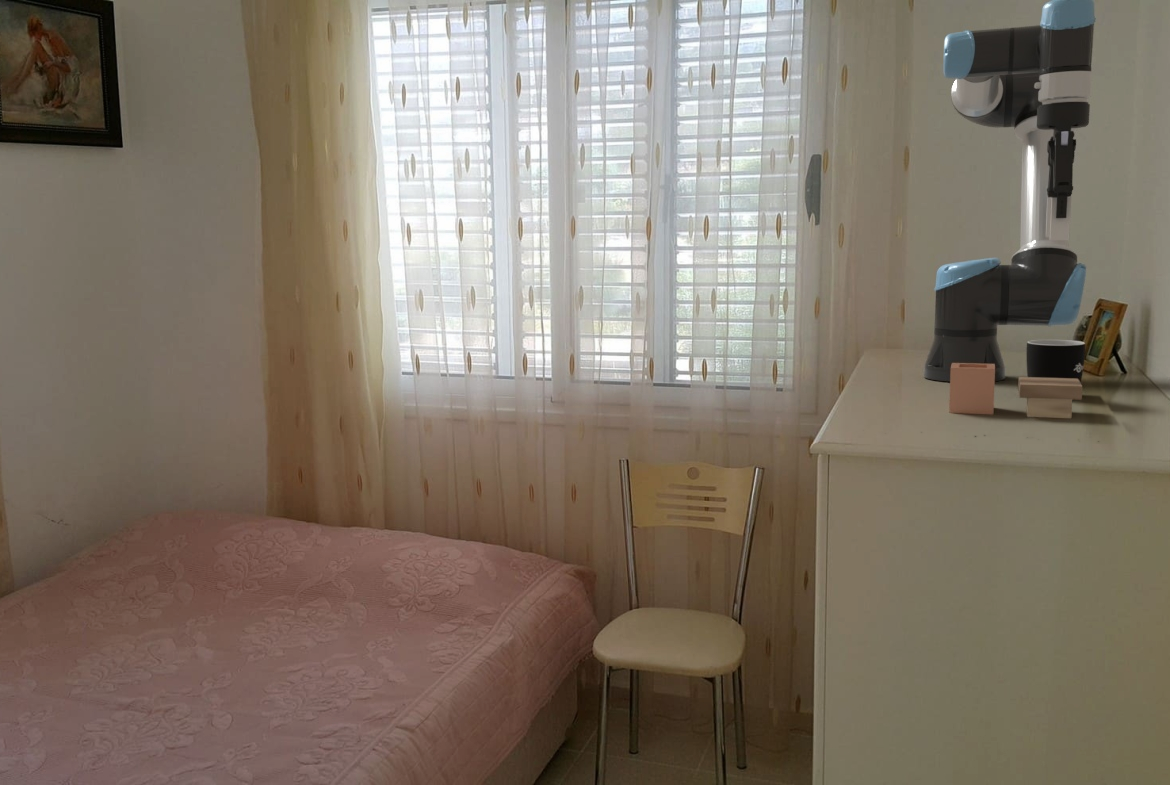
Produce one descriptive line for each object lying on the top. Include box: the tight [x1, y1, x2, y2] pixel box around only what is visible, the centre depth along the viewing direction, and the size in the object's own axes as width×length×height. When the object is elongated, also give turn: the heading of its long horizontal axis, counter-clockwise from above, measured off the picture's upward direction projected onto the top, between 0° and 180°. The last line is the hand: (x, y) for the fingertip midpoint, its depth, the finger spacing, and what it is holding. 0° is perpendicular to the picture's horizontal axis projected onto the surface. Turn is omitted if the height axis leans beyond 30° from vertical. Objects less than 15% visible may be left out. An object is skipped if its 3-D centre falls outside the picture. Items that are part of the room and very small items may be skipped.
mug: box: [1026, 339, 1086, 384], centre depth 172 cm, size 12×9×10 cm
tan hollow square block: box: [948, 363, 996, 415], centre depth 160 cm, size 6×6×8 cm
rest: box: [1025, 398, 1073, 419], centre depth 155 cm, size 6×6×4 cm
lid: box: [1017, 376, 1083, 401], centre depth 155 cm, size 8×8×2 cm
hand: (1056, 238), depth 164 cm, fingers open, 13 cm apart
